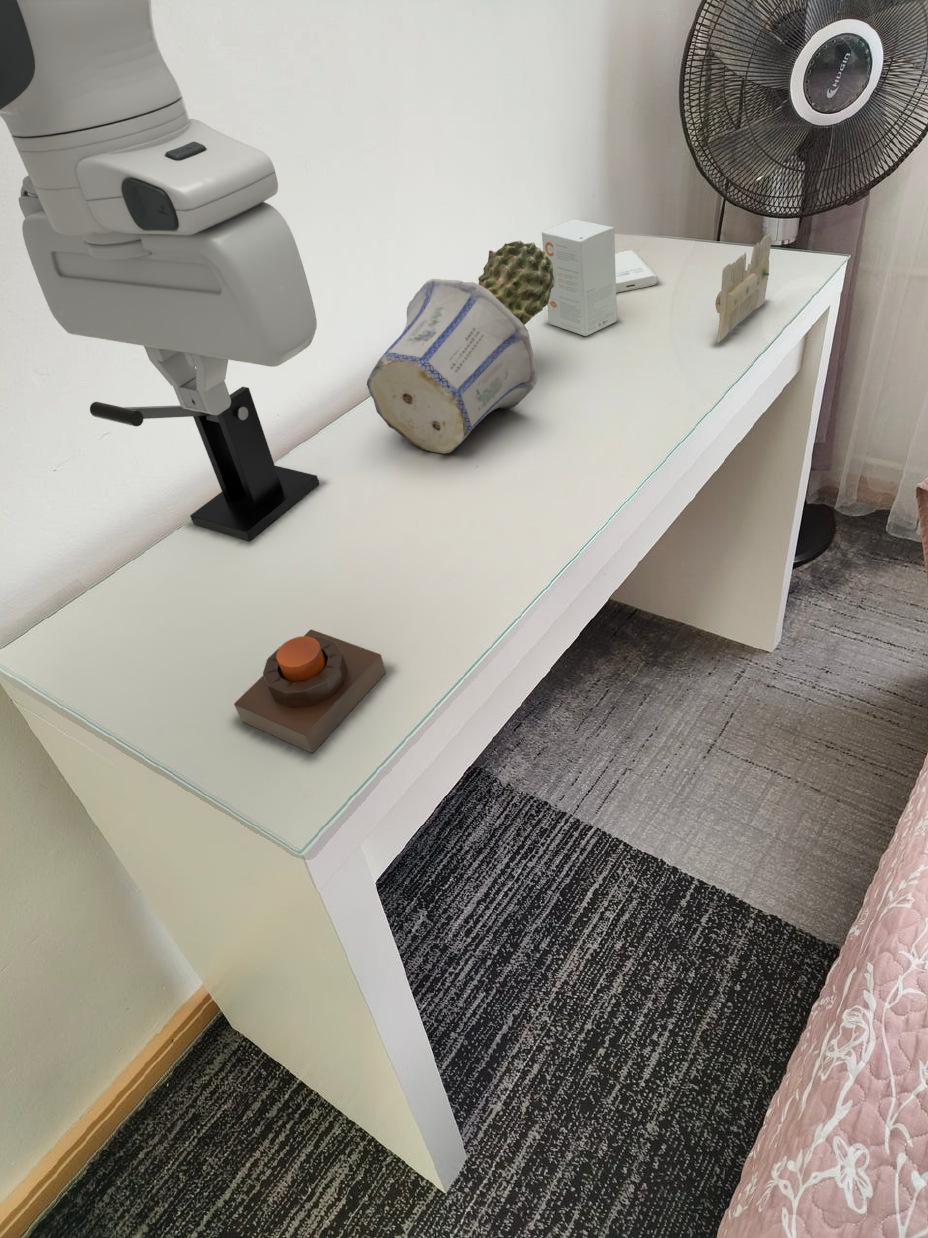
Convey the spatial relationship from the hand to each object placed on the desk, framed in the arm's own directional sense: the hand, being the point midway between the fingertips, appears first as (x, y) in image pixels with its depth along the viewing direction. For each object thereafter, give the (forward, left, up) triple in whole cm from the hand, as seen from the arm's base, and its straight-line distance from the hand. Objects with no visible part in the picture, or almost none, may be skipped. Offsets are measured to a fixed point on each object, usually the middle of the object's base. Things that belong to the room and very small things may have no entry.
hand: (207, 408), depth 55 cm
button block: (0, 0, -27) cm, 27 cm away
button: (0, 0, -23) cm, 23 cm away
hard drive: (+62, +71, -27) cm, 98 cm away
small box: (+50, +58, -27) cm, 81 cm away
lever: (-6, +30, -14) cm, 33 cm away
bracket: (-1, +34, -27) cm, 43 cm away
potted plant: (+30, +42, -27) cm, 58 cm away
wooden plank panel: (+68, +45, -27) cm, 86 cm away
